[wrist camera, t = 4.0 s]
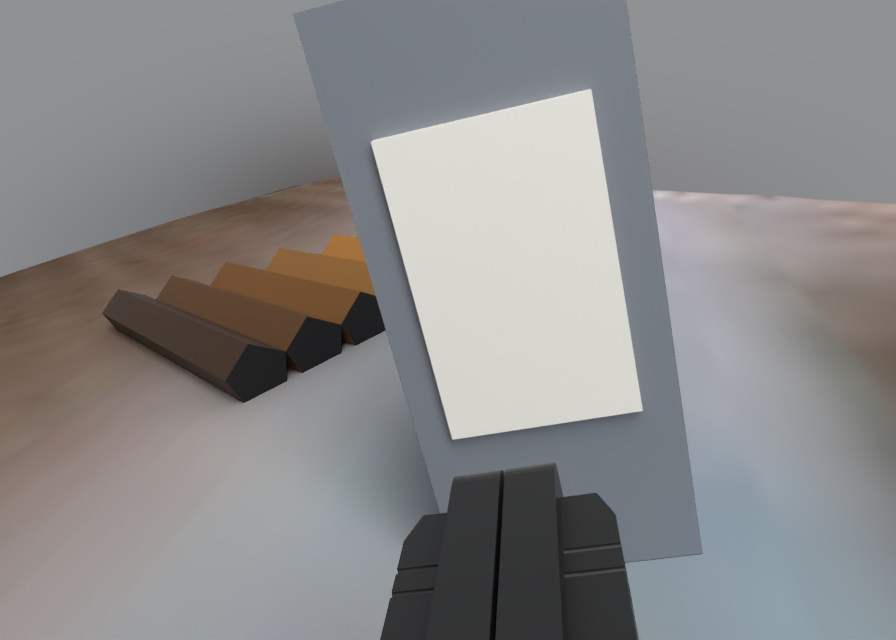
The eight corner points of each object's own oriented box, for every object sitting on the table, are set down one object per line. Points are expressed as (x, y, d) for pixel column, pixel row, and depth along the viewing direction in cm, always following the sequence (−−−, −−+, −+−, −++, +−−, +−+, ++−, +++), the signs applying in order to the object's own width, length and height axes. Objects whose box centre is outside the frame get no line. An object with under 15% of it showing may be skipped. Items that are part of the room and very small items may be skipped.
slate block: (704, 560, 20) (617, -77, 14) (458, 588, 21) (288, 13, 16) (676, 470, 24) (598, -57, 18) (469, 498, 25) (337, 13, 19)
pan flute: (112, 337, 57) (238, 416, 37) (95, 298, 56) (216, 358, 36) (368, 231, 70) (559, 249, 51) (359, 197, 69) (550, 202, 49)
